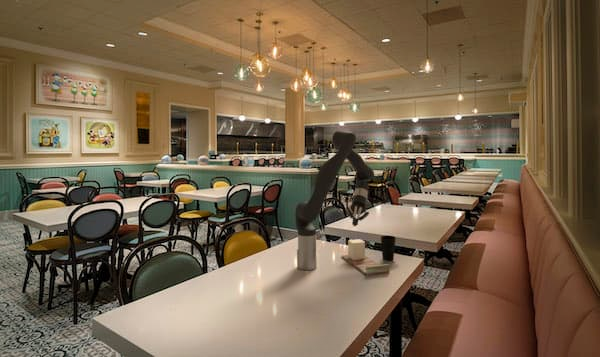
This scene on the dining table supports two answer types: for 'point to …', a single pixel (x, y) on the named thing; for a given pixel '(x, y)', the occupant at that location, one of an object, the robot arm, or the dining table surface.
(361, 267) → the track
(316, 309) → the dining table surface
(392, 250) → the cup
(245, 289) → the dining table surface
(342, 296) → the dining table surface
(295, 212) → the robot arm
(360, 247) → the block
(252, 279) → the dining table surface
